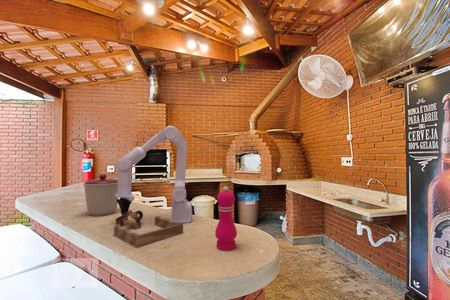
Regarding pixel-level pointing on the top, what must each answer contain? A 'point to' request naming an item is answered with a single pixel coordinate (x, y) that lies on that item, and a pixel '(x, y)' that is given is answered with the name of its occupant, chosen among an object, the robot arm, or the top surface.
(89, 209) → the canister
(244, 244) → the top surface
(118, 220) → the brown ring with stem
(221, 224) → the pepper mill
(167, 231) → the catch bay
